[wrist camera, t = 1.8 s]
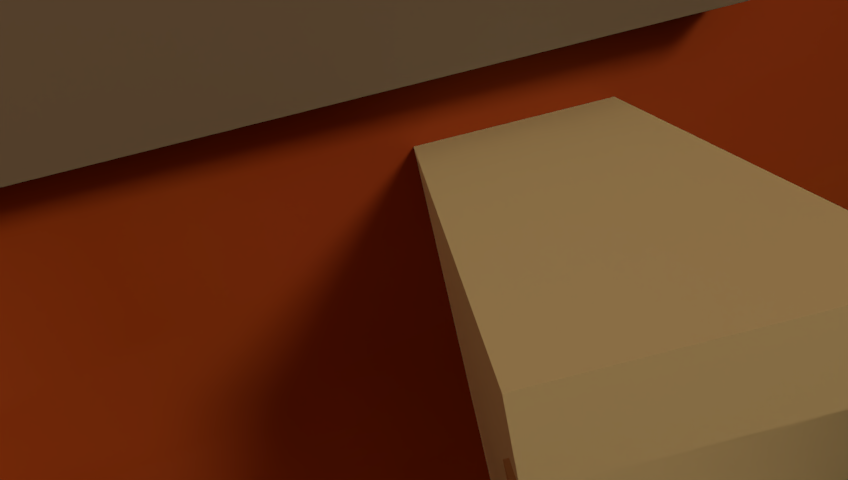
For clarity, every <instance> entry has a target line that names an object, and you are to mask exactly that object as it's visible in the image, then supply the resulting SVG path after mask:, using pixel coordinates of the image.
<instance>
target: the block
mask: <svg viewBox="0 0 848 480" xmlns="http://www.w3.org/2000/svg"><path fill="white" fill-rule="evenodd" d="M414 151H415V155H416V160H417V164H418V168H419V173H420V177H421V181H422V186H423V190H424V194H425V198H426V203H427V207H428V211H429V216H430V220H431V224H432V229H433V233H434V237H435V242H436V246H437V250H438V255H439V259H440V263H441V268H442V272H443V276H444V281H445V285H446V289H447V294H448V298H449V302H450V307H451V311H452V315H453V320H454V324H455V328H456V333H457V337H458V341H459V346H460V350H461V354H462V359H463V363H464V367H465V372H466V376H467V380H468V385H469V389H470V393H471V398H472V402H473V406H474V411H475V415H476V419H477V423H478V428H479V432H480V436H481V441H482V445H483V449H484V454H485V458H486V462H487V467H488V471H489V475H490V480H848V210H846V209H844V208H842V207H840V206H838V205H836V204H834V203H832V202H830V201H828V200H826V199H823V198H821V197H819V196H817V195H815V194H813V193H811V192H809V191H807V190H805V189H803V188H801V187H799V186H797V185H795V184H793V183H791V182H789V181H786V180H784V179H782V178H780V177H778V176H776V175H774V174H772V173H770V172H768V171H766V170H764V169H762V168H760V167H758V166H756V165H754V164H752V163H749V162H747V161H745V160H743V159H741V158H739V157H737V156H735V155H733V154H731V153H729V152H727V151H725V150H723V149H721V148H719V147H717V146H715V145H712V144H710V143H708V142H706V141H704V140H702V139H700V138H698V137H696V136H694V135H692V134H690V133H688V132H686V131H684V130H682V129H680V128H678V127H675V126H673V125H671V124H669V123H667V122H665V121H663V120H661V119H659V118H657V117H655V116H653V115H651V114H649V113H647V112H645V111H643V110H641V109H638V108H636V107H634V106H632V105H630V104H628V103H626V102H624V101H622V100H620V99H618V98H616V97H611V98H607V99H603V100H599V101H595V102H591V103H587V104H583V105H579V106H575V107H571V108H567V109H563V110H559V111H555V112H551V113H547V114H543V115H539V116H535V117H531V118H527V119H523V120H519V121H515V122H511V123H507V124H503V125H499V126H495V127H491V128H487V129H483V130H479V131H475V132H471V133H467V134H463V135H459V136H455V137H451V138H447V139H443V140H439V141H435V142H431V143H427V144H423V145H419V146H415V147H414Z"/></svg>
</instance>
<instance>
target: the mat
mask: <svg viewBox="0 0 848 480" xmlns="http://www.w3.org/2000/svg"><path fill="white" fill-rule="evenodd" d="M744 1H748V0H0V188H1V187H5V186H9V185H13V184H17V183H21V182H25V181H29V180H33V179H37V178H41V177H45V176H49V175H53V174H57V173H61V172H65V171H69V170H73V169H77V168H81V167H85V166H89V165H93V164H97V163H101V162H105V161H109V160H113V159H117V158H121V157H125V156H129V155H133V154H137V153H141V152H145V151H149V150H153V149H157V148H161V147H165V146H169V145H173V144H177V143H181V142H185V141H189V140H193V139H197V138H201V137H205V136H209V135H213V134H217V133H221V132H225V131H229V130H233V129H237V128H241V127H245V126H249V125H253V124H257V123H261V122H265V121H269V120H273V119H277V118H281V117H285V116H289V115H293V114H297V113H301V112H305V111H309V110H313V109H317V108H321V107H325V106H329V105H333V104H337V103H341V102H345V101H349V100H353V99H357V98H361V97H365V96H369V95H373V94H377V93H381V92H385V91H389V90H393V89H397V88H401V87H405V86H409V85H413V84H417V83H421V82H425V81H429V80H433V79H437V78H441V77H445V76H449V75H453V74H457V73H461V72H465V71H469V70H473V69H477V68H481V67H485V66H489V65H493V64H497V63H501V62H505V61H509V60H513V59H517V58H521V57H525V56H529V55H533V54H537V53H541V52H545V51H549V50H553V49H557V48H561V47H565V46H569V45H572V44H576V43H580V42H584V41H588V40H592V39H596V38H600V37H604V36H608V35H612V34H616V33H620V32H624V31H628V30H632V29H636V28H640V27H644V26H648V25H652V24H656V23H660V22H664V21H668V20H672V19H676V18H680V17H684V16H688V15H692V14H696V13H700V12H704V11H708V10H712V9H716V8H720V7H724V6H728V5H732V4H736V3H740V2H744Z"/></svg>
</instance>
